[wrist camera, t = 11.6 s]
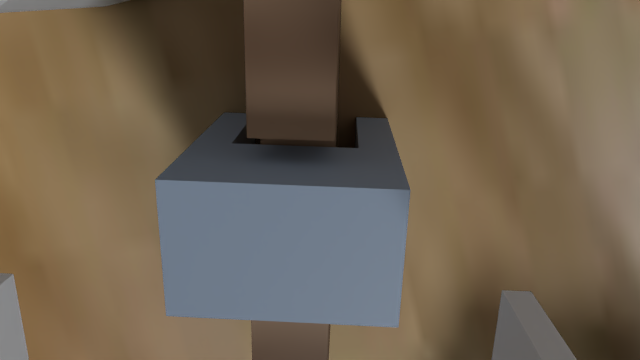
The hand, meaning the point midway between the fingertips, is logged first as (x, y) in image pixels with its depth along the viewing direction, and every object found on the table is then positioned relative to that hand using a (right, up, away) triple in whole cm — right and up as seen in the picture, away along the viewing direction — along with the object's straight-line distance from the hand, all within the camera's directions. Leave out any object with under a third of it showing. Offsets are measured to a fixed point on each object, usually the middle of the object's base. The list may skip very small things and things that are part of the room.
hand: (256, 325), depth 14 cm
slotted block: (+1, +5, +12) cm, 13 cm away
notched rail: (+1, +5, +12) cm, 13 cm away
